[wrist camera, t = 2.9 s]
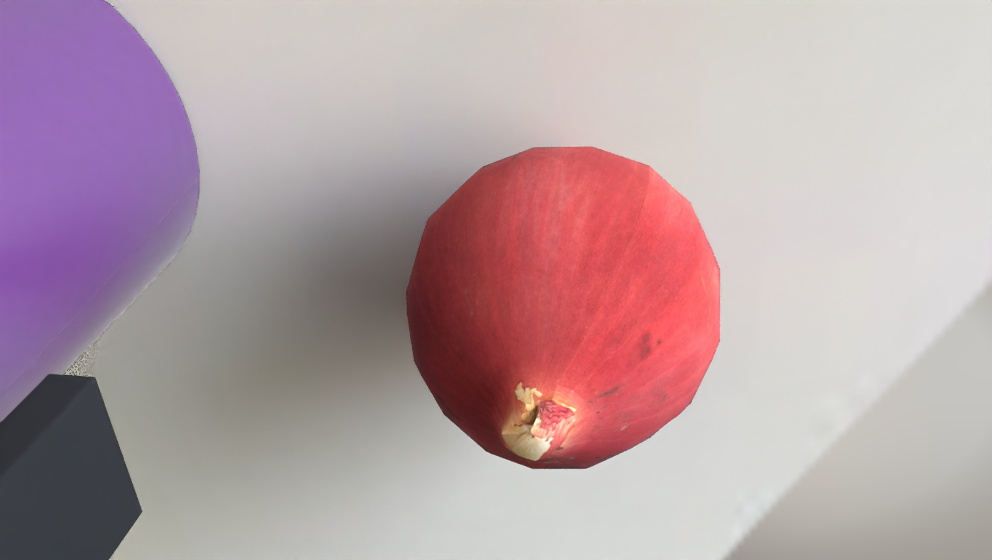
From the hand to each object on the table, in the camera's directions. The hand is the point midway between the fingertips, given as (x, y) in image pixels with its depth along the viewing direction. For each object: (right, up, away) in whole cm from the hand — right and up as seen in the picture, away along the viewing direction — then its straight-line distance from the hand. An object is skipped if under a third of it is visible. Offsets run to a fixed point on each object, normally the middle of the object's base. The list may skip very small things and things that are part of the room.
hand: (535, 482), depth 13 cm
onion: (+1, +4, +7) cm, 9 cm away
